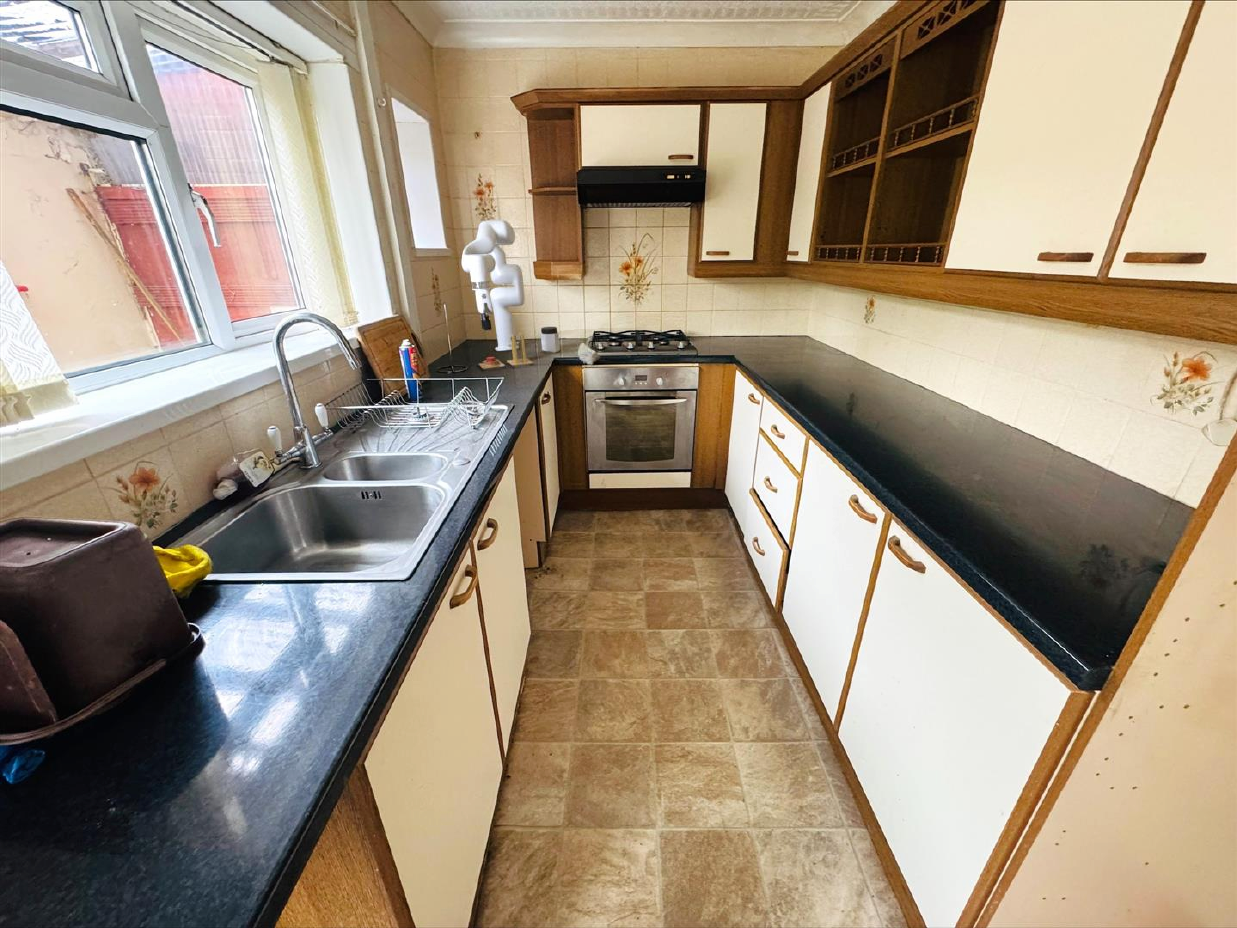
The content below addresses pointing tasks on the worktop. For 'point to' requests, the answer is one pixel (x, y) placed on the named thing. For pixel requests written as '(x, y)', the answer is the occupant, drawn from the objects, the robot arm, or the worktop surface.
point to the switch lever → (517, 338)
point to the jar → (550, 339)
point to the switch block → (491, 364)
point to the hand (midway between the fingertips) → (486, 329)
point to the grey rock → (587, 354)
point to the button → (490, 359)
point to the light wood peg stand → (514, 351)
